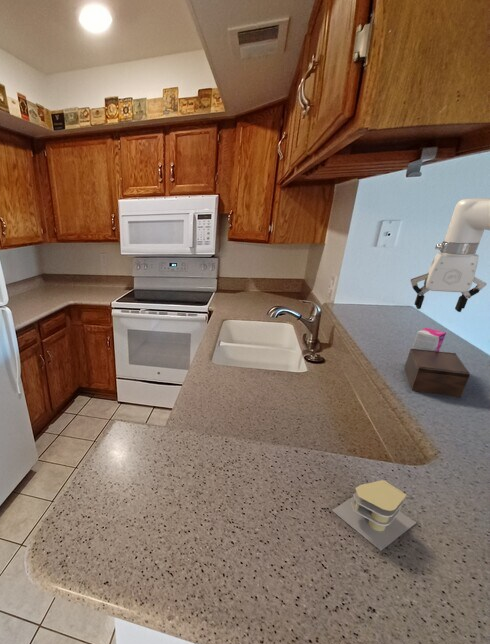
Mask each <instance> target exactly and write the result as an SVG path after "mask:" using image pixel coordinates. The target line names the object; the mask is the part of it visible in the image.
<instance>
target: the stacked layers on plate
mask: <svg viewBox="0 0 490 644" xmlns="http://www.w3.org/2000/svg"><path fill="white" fill-rule="evenodd" d="M406 497H407V494H406V493H405V492H404V491H402V490H400V489H398V487H395V486H394V485H392V484H391V483H389V482H387V481H386V480H384V479H381V480H377V481H376V480H375V481H372V482H367V483H363V484H359V485H358V486H355V492H353V496H351V497H350V498H349V499H347V500H345V501H344V502H342V503H341V504H338V505H337V506H336V507H334V508H333V509H331V511H332V513H334V514H335V515H336V516H338V517H339V518H340V519H341V520H342V521H343V522H345V523H346V524H347V525H349V526H350V527H351V528H352V529H353V530H355V531H356V532H357V533H359V534H360V535H361V536H362V537H364V539H366V540H367V542H369V543H371V544H372V545H373V546H375V548H377V549H378V550H379V551H383V550H385V548H387V547H388V546H389V545H390V544H392V543H393V542H394V541H396V540H397V539H398V538H400V537H401V536H402V535H403V534H404V533H406V532H407V531H408V530H410V529H411V528H412V527H414V526H415V525H416V524H417V521H415V520H413V518H411V517H409V516H408V515H407V514H405V513H403V512H402V511H401V510H402V508H401V506H402V505H403V504H404V503H405V498H406Z"/></svg>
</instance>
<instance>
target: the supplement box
mask: <svg viewBox="0 0 490 644" xmlns="http://www.w3.org/2000/svg"><path fill="white" fill-rule="evenodd" d="M446 334H447V332H444V331H441V330H436V329H432V328H428V327H425V328H423V329H421V330H419V331H417V333H416V335H415V339H414V340H413V344H412V346H411V349H419V350H428V351H438V352H440V350H441V347H442V344H443V342H444V339H445V337H446Z"/></svg>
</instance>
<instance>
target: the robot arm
mask: <svg viewBox="0 0 490 644" xmlns="http://www.w3.org/2000/svg"><path fill="white" fill-rule="evenodd" d="M485 230H486V231H490V198H489V197H488V198H487V197H475V198H474V197H473V198H463V199H461V200H459V201H458V202H457V203H456V204H455V207H454V209H453V212H452V215H451V218H450V221H449V225H448V227H447V231H446V233H445V237H444V240H443V241H442V242H441V243H437V244H436V245H435V247H434V248H435V250H438V251H439V252H437V253H436V254H435V256H434V258H433V260H432V262H431V263H430V266H429V268H428V270H427V272H426V273H425V274H422V275H419V276H416V277H413V278H411V279H410V283H411V287H412V290H414V292H415V293H416V298H415V301H414V306H415V308H416V309H417V310H421V309H422V306H423V302H424V300H425V294H426V293H428V292H429V291H430V292H443V293H444V292H446V293H460V294H461V295H460V296H459V297H458V299H457V302H456V305H455V307H454V309H455V311H457V312H458V313H461V312H462V310H464V309H465V307H466V305H467V303H468V300H469V299H471V298H472V297H473V296H475V295H477V294H478V293H480V291H481V290H483V289H484V288H485V287H487V282H485V281H483V280H482V279H480V278H478V277H477V276H475V275H476V272H477V268H478V263H479V257H480V256H479V254H476V253H477V250H478V248H479V245H480V242H481V240H482V237H483V234H484V232H485ZM422 281H424V282H423V286H421V287H419V285H418V283H420V282H422ZM473 283H474V284H476V286H475V287H472V286H473ZM471 287H472V288H471Z"/></svg>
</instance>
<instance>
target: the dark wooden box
mask: <svg viewBox="0 0 490 644" xmlns="http://www.w3.org/2000/svg"><path fill="white" fill-rule="evenodd" d="M403 370H404V374H405V377H406V378H407V381H408V384H409V387H410V389H411V391H414V392H421V393H428V394H434V395H441V396H448V397H456V398H461V397H462V395H463V393H464V391H465V388H466V386H467V383H468V381H469V378H470V376H471V373H470V371H469V370H468V369H467V367H466V366H465V365H464V363H463V362H462V360H461V359H460V357H459V356H458V355H457V353H456V352H445V351H439V352H438V351H428V350H419V349H412V348H410V349H409V353H408V355H407V359H406V361H405V366H404V369H403Z"/></svg>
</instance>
